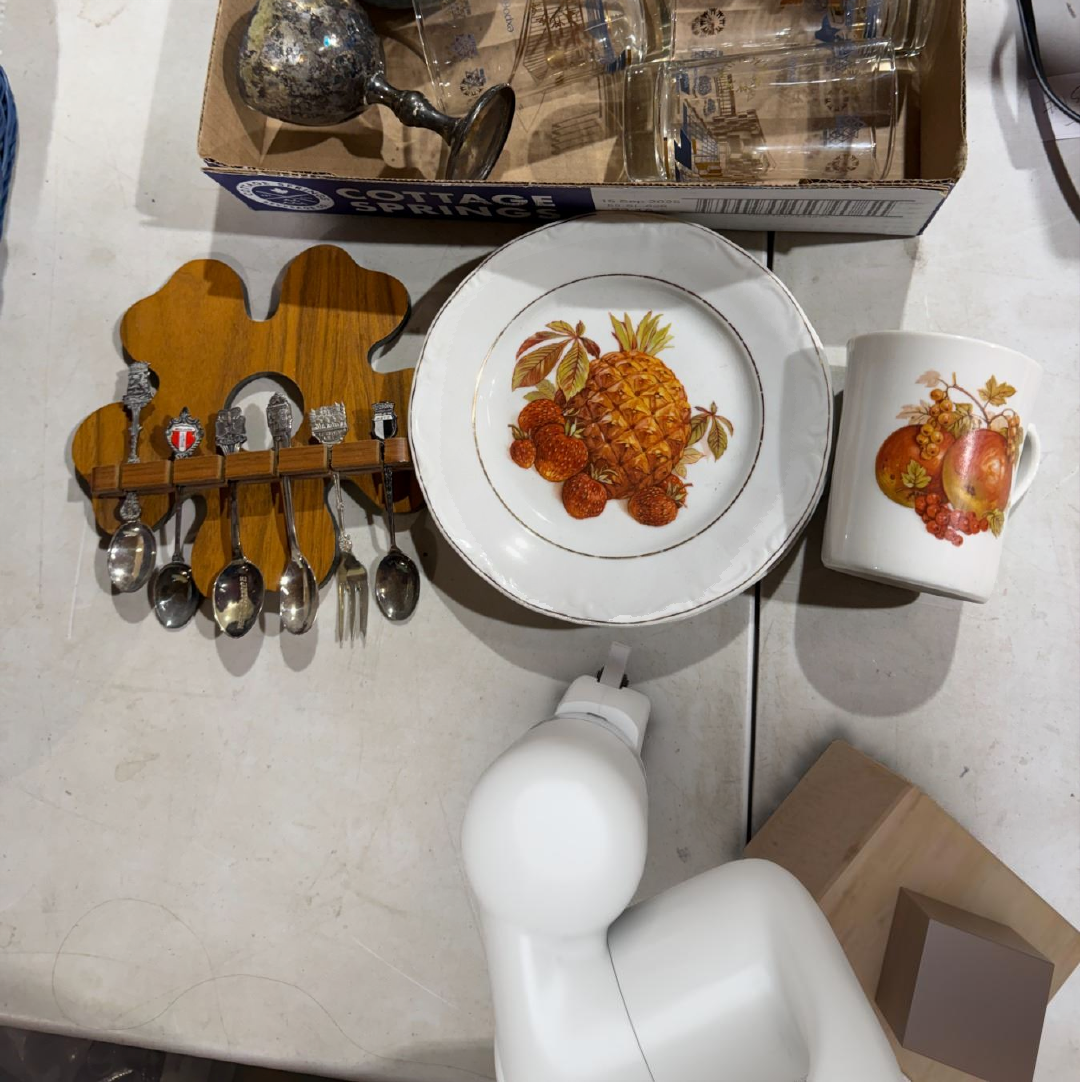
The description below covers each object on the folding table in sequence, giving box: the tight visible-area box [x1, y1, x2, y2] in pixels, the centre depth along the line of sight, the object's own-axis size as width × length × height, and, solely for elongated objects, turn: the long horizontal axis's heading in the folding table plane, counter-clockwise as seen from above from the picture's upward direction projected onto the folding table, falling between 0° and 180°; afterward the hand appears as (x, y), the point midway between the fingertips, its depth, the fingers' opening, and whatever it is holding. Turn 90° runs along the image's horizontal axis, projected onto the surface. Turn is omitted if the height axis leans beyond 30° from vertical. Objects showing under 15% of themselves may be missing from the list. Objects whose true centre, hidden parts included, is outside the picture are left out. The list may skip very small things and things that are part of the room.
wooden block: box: [742, 738, 1080, 1082], centre depth 54 cm, size 10×10×20 cm
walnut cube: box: [875, 887, 1055, 1082], centre depth 42 cm, size 5×5×5 cm
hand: (593, 749), depth 67 cm, fingers closed on slate cube, 5 cm apart
